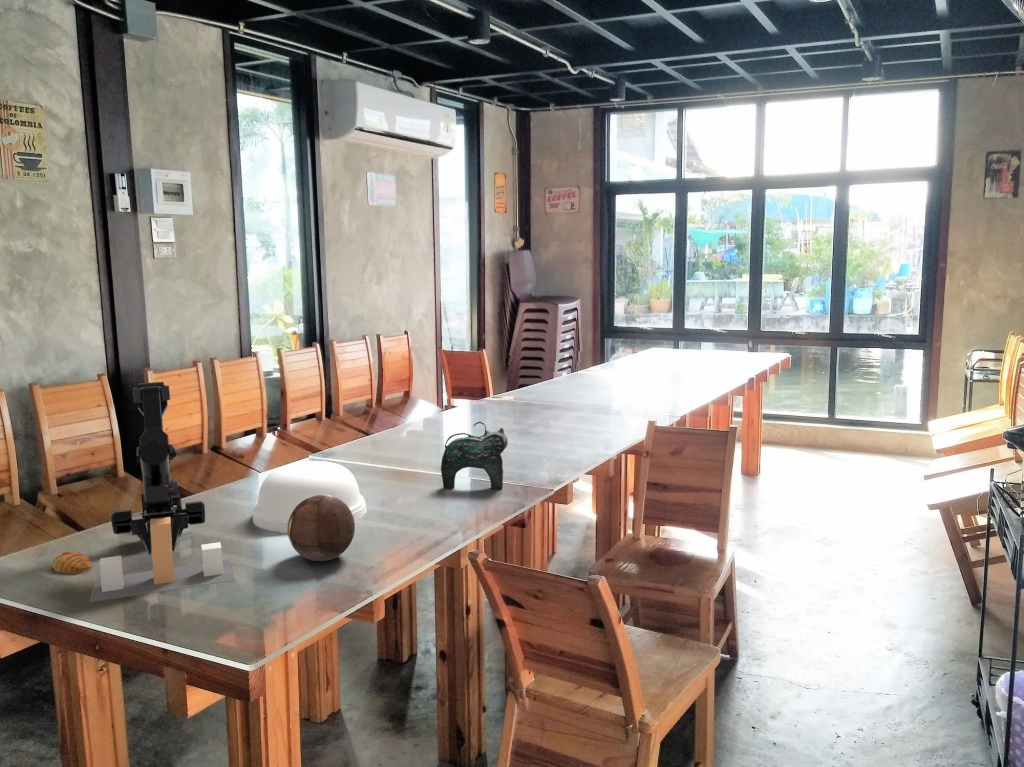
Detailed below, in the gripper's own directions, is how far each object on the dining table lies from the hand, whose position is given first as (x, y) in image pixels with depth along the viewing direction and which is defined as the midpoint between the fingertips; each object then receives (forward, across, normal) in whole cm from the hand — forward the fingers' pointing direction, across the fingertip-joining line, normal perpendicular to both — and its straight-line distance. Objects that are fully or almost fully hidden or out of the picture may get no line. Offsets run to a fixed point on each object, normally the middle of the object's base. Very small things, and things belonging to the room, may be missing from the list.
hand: (161, 552), depth 182 cm
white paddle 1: (+4, -10, +6) cm, 12 cm away
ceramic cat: (-25, +86, +36) cm, 97 cm away
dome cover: (-21, +37, +32) cm, 53 cm away
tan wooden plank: (+4, 0, +6) cm, 7 cm away
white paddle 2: (+4, +10, +6) cm, 12 cm away
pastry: (-8, -19, +19) cm, 28 cm away
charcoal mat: (+4, 0, +6) cm, 7 cm away
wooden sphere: (+5, +34, +6) cm, 35 cm away
